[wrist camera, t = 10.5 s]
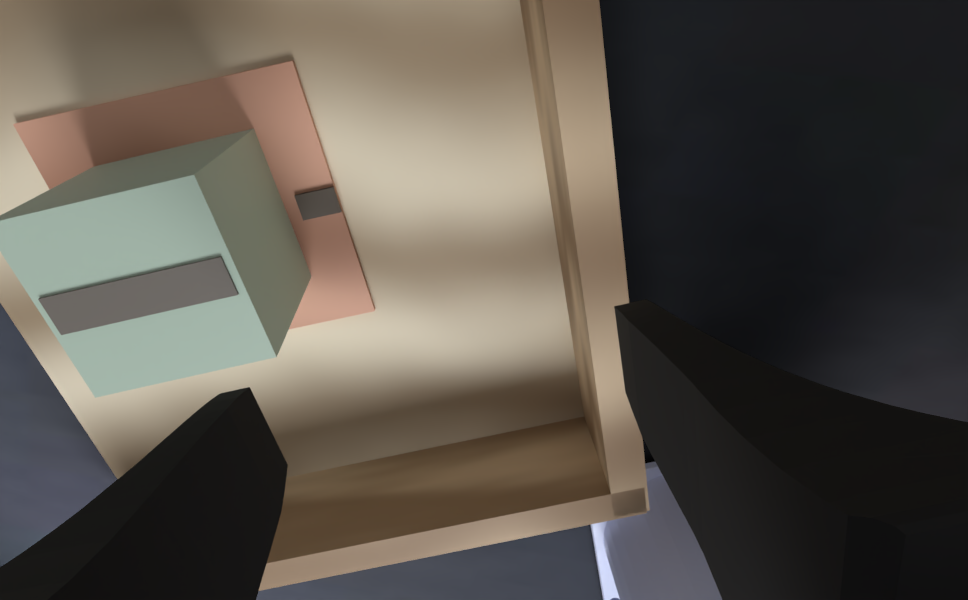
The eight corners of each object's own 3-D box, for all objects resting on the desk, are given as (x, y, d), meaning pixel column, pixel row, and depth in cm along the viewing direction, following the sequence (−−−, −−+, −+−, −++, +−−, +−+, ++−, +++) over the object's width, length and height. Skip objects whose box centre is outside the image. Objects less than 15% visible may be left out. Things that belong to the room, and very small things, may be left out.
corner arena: (612, 420, 24) (649, 512, 20) (158, 513, 25) (101, 622, 21) (539, -151, 15) (578, -204, 11) (-164, 13, 16) (-380, 23, 12)
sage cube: (253, 128, 17) (192, 176, 13) (311, 276, 19) (276, 358, 15) (93, 166, 17) (-20, 225, 13) (169, 308, 20) (93, 399, 15)
